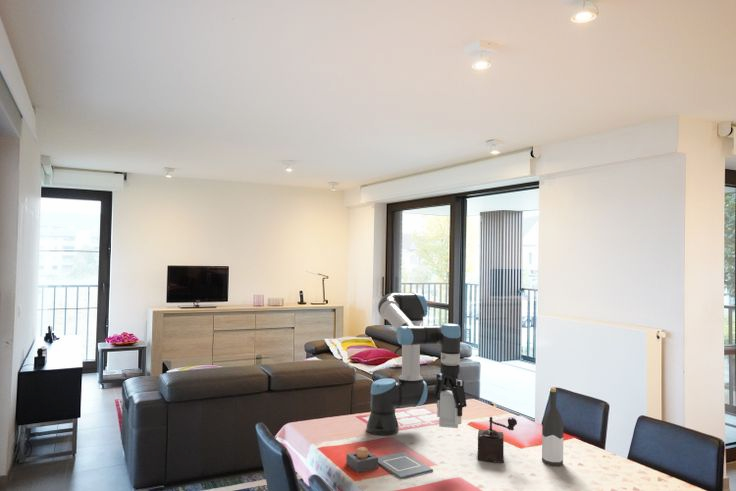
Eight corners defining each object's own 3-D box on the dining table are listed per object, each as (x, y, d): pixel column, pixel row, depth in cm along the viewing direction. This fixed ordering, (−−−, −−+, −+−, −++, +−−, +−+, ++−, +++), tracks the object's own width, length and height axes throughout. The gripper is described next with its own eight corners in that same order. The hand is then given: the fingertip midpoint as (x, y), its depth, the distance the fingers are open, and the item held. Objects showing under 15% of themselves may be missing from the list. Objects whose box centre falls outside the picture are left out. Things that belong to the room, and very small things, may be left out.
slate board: (372, 460, 207) (372, 458, 207) (402, 453, 215) (402, 451, 215) (400, 479, 190) (400, 476, 190) (432, 471, 198) (432, 468, 198)
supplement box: (458, 428, 199) (458, 395, 200) (438, 426, 201) (439, 394, 201) (458, 422, 207) (459, 390, 207) (440, 420, 208) (440, 389, 208)
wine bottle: (562, 460, 212) (563, 386, 212) (563, 467, 204) (564, 391, 205) (542, 457, 214) (542, 384, 215) (541, 464, 207) (542, 389, 207)
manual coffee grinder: (477, 461, 209) (477, 416, 209) (477, 451, 220) (478, 408, 220) (516, 465, 205) (517, 419, 206) (515, 455, 216) (516, 412, 216)
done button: (354, 458, 202) (354, 448, 202) (364, 456, 204) (364, 446, 205) (360, 462, 198) (360, 452, 198) (369, 460, 201) (370, 450, 201)
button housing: (346, 464, 203) (346, 453, 203) (366, 460, 208) (366, 449, 208) (357, 472, 195) (357, 461, 195) (377, 468, 200) (378, 457, 200)
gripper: (425, 358, 212) (423, 413, 211) (462, 370, 193) (460, 430, 192) (439, 357, 216) (438, 411, 215) (477, 368, 196) (475, 427, 196)
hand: (448, 420), depth 204 cm, fingers closed on supplement box, 10 cm apart
